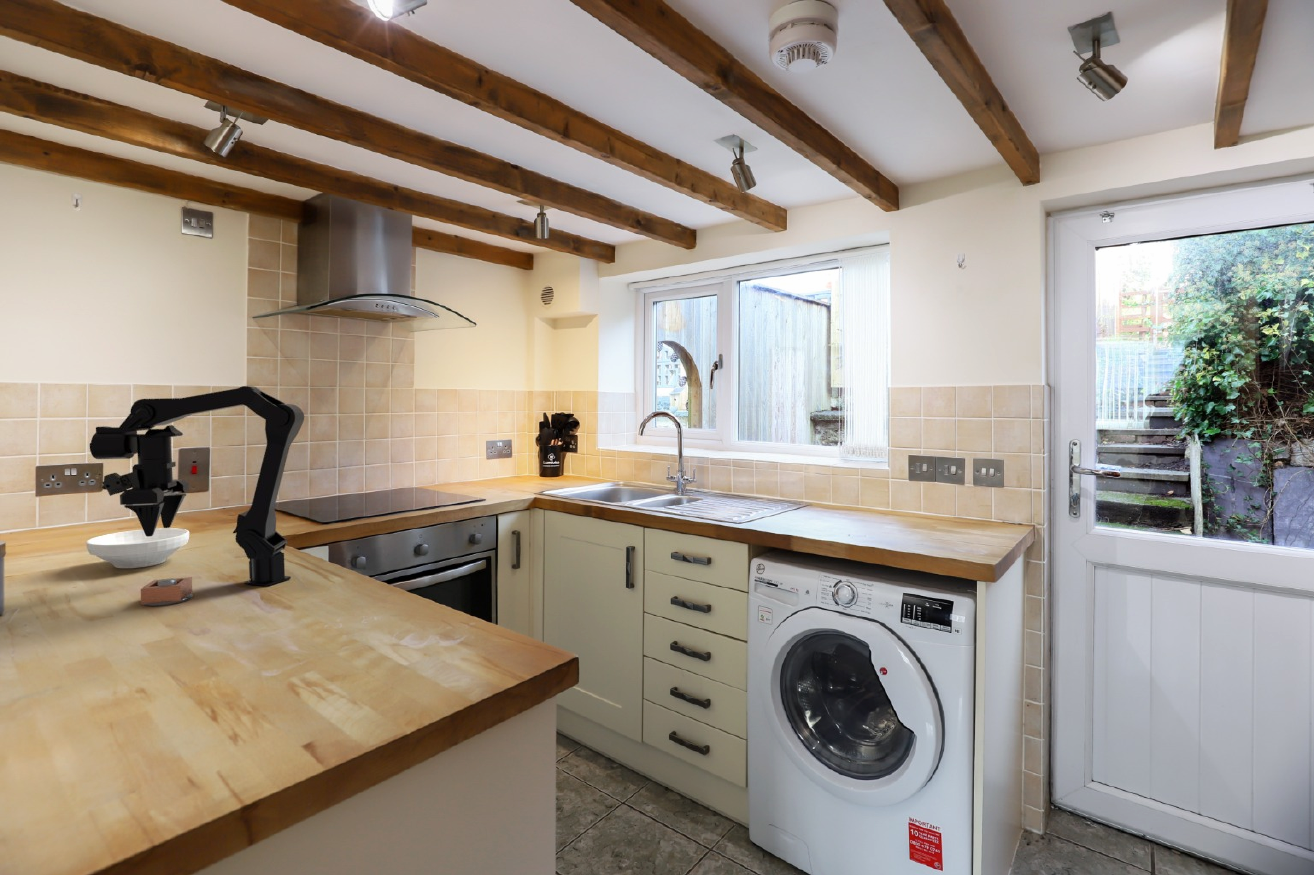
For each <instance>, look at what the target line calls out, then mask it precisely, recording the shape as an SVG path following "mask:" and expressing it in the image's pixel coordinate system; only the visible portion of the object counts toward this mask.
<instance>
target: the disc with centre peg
mask: <svg viewBox="0 0 1314 875" xmlns="http://www.w3.org/2000/svg"><path fill="white" fill-rule="evenodd" d="M158 580H159V581H158V586H168V585H177V580H176V579H175V578H174V577H170V578H165V579H163V580H161V579H158ZM193 595H194V594H193V593H192V592H191V593H190V594H189V595H188V596H186V597H185V598H184V599H183V600H181V601H172V602H161V603H149V604H142V606H144V607H165V606H171V605H176V604H180V603H183V602H187V601H189V600H191V599H193Z"/></svg>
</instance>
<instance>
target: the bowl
mask: <svg viewBox="0 0 1314 875" xmlns="http://www.w3.org/2000/svg"><path fill="white" fill-rule="evenodd" d="M189 538H190V531H189V530H188V529H185V528H175V527H174V528H172V527H170V528H164V527H162V528H161V527H160V528H156V529H155V531H154V534H153V536H148V537H147V536H146V535H145V533H144V530H143V529H134V530H126V531H120V532H119V531H118V532H114V533H108V534H104V535H99V536H95V537H92V538H90V539H88V540H86V542H85V543H86V549H87V552H88V554H89V555H91V556H96V557H97V558H99V559H101V560H103V561H105V562H107V563H110V564H111V565H113V567H115V568H117V569H135V568H137V569H138V568H145V567H146V568H147V567H151V566H156V565H159V564H162V563H165V562H166V560H167V559H168V558H169V557H171V555H173V554H175V553H176V552H177V551H178V550H180V549H181V548H182V546H185V545H186V544H188V543H189Z"/></svg>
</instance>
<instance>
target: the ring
mask: <svg viewBox="0 0 1314 875" xmlns="http://www.w3.org/2000/svg"><path fill="white" fill-rule="evenodd" d="M175 579H176V580H177V585H168V586H158V581H159V580H163V579H162V578H161V579H153V580H152V581H150V582H149V583H147V584H145V585H144V586H142V587H141V588H140V602H141V603H140V604H141V605H143V604H149V603H161V602H172V601H181V600H183V599H184V598H185V597H186V596H188V595H189V594H190V593H192V592H193V577H192V576H191V577H189V576H188V577H178V578H175Z"/></svg>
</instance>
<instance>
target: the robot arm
mask: <svg viewBox="0 0 1314 875" xmlns="http://www.w3.org/2000/svg"><path fill="white" fill-rule="evenodd" d="M240 406H244V407H246V408H248V409H249V410H251V411H252V412H253V413H254V414H256V415H257V416H259V417H260V418H262V419H264V420H265V423H264V431H265V439H266V447H265V449H264V450H265V451H264V455H263V458H262V463H261V466H260V470H259V475H258V478H257V483H256V486H255V490H254V495H253V498H252V503H251V506H250V508H249V510H246V511H243V512H241V513H239V514H237V519H236V526H235V529H234V530H233V532H232V534H235V537H234V538H235V542H236V543H237V545H238V546H239V547H240V548H241V549H242V550H243V551H244V553H245V555H246V557H247V559H248V560H249V561H248V570H249V571H248V572H249V574H248V575H249V579H248V580H245V581H244V583H243V584H244V585H249V586H250V585H251V586H260V587H269V586H273V585H275V584H278V583H281V582H285V581H288V580H291V576H290V575H286V574H285V569H286V568H285V553H284V552H282V551H283V550H285V549H286V546H287V543H288V539H287V538H285V537H284V536H282V534H281V533H279V532H278V531H277V530H276V529H277V515H276V509H275V507H276V503H277V498H278V495H279V490H280V487H281V483H282V478H283V475H284V471H285V466H286V463H287V459H288V456H289V455H288V454H289V450H290V447H291V445H292V444H293V442H294V441H295V439H296V437H297V436H298V434H299V431H300V430H301V428H302V425H303V423H304V421H305V413H304V412H303V410H302V409H301V408H300V407H299V406H298V405H296V404H291V403H285V402H283V400H282V401H281V400H280V399H278V398H276V397H273V396H271V395H269V394H267V393H266V392H263V391H262V390H260V388H258V387H256V386H253V385H244V386H240V387H238V388H232V389H225V390H221V391H214V392H210V393H209V392H207V393H203V394H198V395H191V396H185V397H174V398H172V397H171V398H141V399H137V400H136V401H134V402H133V404H132V405H131V407H130V413H129V414H128V416H127V417H126V418H125V420H124V421H123V422H121V424H120V425H119V426H118V427H117V426H116V427H115V426H114V427H112V426H106V425H105V426H104V425H103V426H96V427H95V433H94V434H93V435H92V436H91V439H90V443H89V450H90V451H89V452H90V454H91V456H92V457H93V458H94V459H96V460H130V459H132V458H133V457H134V456H135V455H136V454H137V464H134V465H132V466H131V467H132V468H131V469H132V470H131V472H129V473H125V474H122V475H120V474H119V473H117V472H113V473H110V474H106V475H104V477H103V481H101V483H102V486H101V488H102V490H106V491H107V492H108V495H109V496H110V497H111V496H113V495H118V494H119V504H120V506H123V508H126V509H129V510H131V511H132V512H134V513H135V515H136V516H137V518H138V521H139V523H140V526H141V528H142V530H144V533H145V535H146V536H147V537H148V536H153V534H154V531H155V529H157V525H158V522H159V521H160V520H159V519H161V523H162V528H171V526H172V524H173V522H174V520H175V517H176V516H177V514H178V511H179V509H180V507H181V506H182V503H183V501H184V500H185V497H186V496H187V493H188V492H190V488H189V487H190V486H189V482H188V481H187V480H185V479H182V478H181V479H180V478H179V479H174V477H173V473H174V472H173V468H174V467H176V466H177V465H176V463H177V462H176V461H173V455H172V453H173V452H172V438H174V437H175V438H176V437H182V436H183V432H182V431H180V430H179V429H177V428H176V427H175V425H174V424H172V425H171V423H175V422H177V421H180V420H183V419H184V418H186V417H190V416H191V415H196V414H202V413H207V412H213V411H218V410H219V411H220V410H225V409H230V408H235V407H240ZM169 424H170V425H169ZM165 425H166V426H165ZM159 426H160V427H161V426H165V427H164V428H156V427H159ZM138 431H145V433H138Z"/></svg>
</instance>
